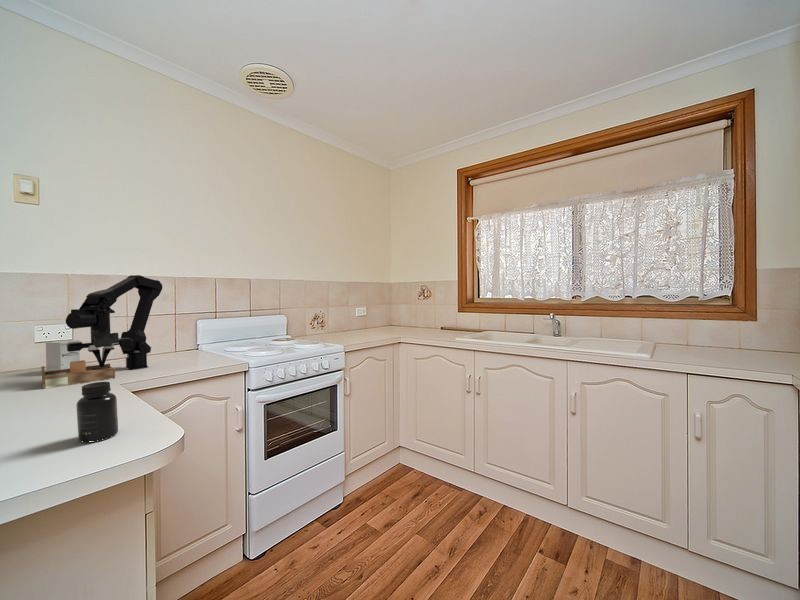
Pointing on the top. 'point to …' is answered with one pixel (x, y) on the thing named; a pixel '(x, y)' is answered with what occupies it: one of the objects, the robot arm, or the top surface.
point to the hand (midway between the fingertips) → (101, 366)
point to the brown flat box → (76, 376)
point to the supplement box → (60, 355)
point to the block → (77, 366)
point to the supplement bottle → (97, 412)
